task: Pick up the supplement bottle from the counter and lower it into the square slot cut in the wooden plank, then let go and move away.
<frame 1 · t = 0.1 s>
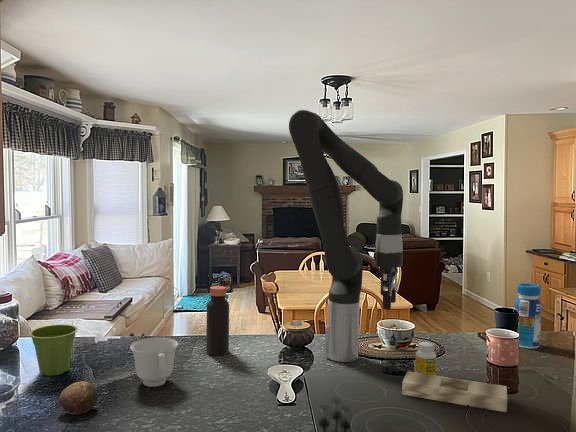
hand: (389, 305, 148), 17 cm above the kitchen counter, tool pointing down, fingers open, 8 cm apart
vinegar: (217, 353, 156), on the kitchen counter
wooden plank: (453, 396, 127), on the kitchen counter
brown potato: (78, 410, 116), on the kitchen counter
supplement bottle: (424, 379, 138), on the kitchen counter
plant pot: (54, 372, 138), on the kitchen counter
teacup: (155, 385, 131), on the kitchen counter
beverage bottle: (525, 345, 169), on the kitchen counter
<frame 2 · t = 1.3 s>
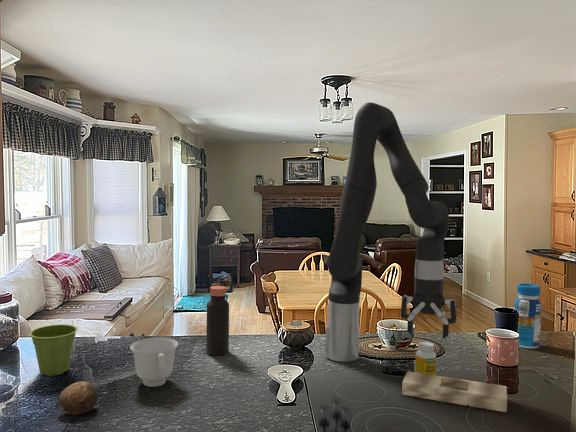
hand: (427, 335, 137), 12 cm above the kitchen counter, tool pointing down, fingers open, 8 cm apart
nothing on the kitchen counter moved.
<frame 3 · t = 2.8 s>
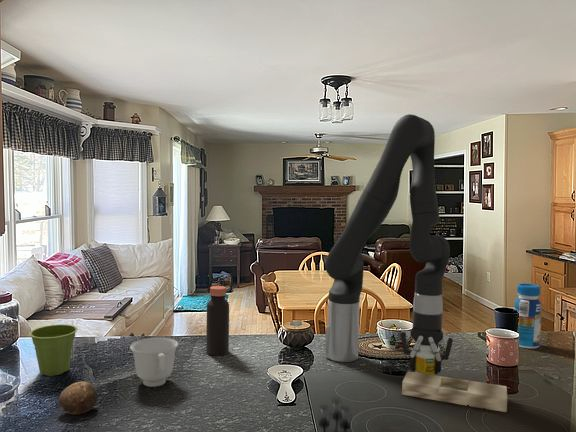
hand: (425, 371, 138), 2 cm above the kitchen counter, tool pointing down, fingers closed on supplement bottle, 5 cm apart
supplement bottle: (424, 379, 138), on the kitchen counter, touching gripper
everything else where it was.
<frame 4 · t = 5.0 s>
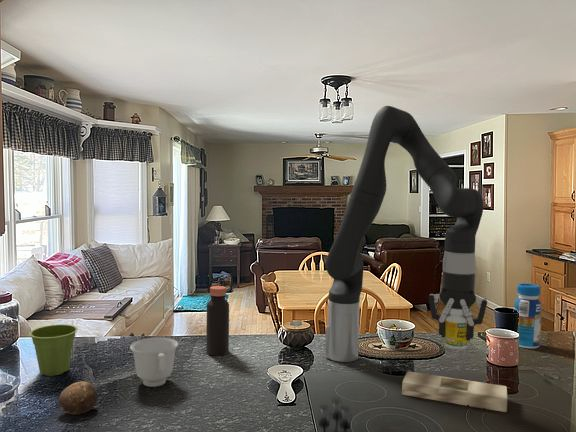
hand: (455, 337, 126), 15 cm above the kitchen counter, tool pointing down, fingers closed on supplement bottle, 5 cm apart
supplement bottle: (455, 346, 126), point 13 cm above the kitchen counter, touching gripper
everything else where it was.
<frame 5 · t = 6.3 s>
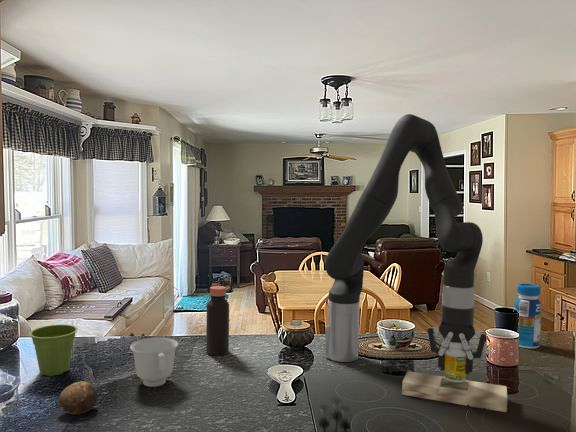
hand: (455, 370, 126), 6 cm above the kitchen counter, tool pointing down, fingers closed on supplement bottle, 5 cm apart
supplement bottle: (454, 379, 127), point 4 cm above the kitchen counter, touching gripper
everything else where it was.
when the fingers open (5 cm above the kitchen counter, at t = 7.2 s): supplement bottle drops 1 cm, resting on wooden plank.
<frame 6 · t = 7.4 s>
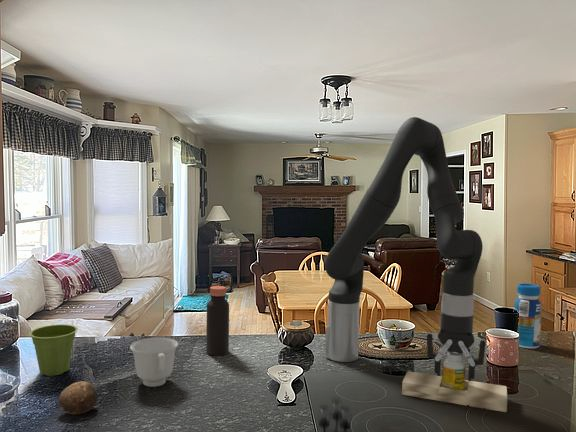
hand: (454, 377, 126), 5 cm above the kitchen counter, tool pointing down, fingers open, 6 cm apart
supplement bottle: (452, 392, 127), point 1 cm above the kitchen counter, touching wooden plank
everything else where it was.
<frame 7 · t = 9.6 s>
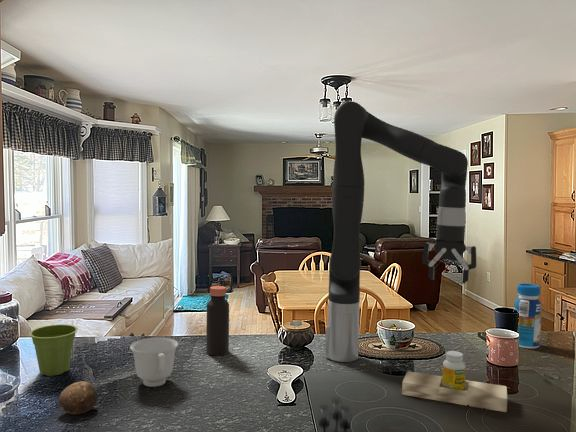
hand: (448, 281, 143), 25 cm above the kitchen counter, tool pointing down, fingers open, 8 cm apart
nothing on the kitchen counter moved.
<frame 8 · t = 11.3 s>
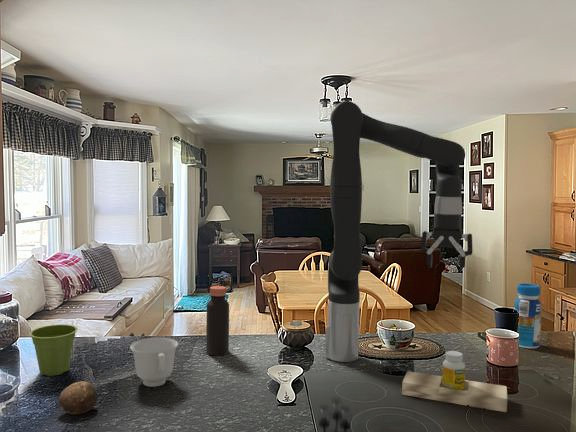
hand: (445, 268, 149), 28 cm above the kitchen counter, tool pointing down, fingers open, 8 cm apart
nothing on the kitchen counter moved.
at the end: supplement bottle 0.2 cm from the wooden plank (horizontally); supplement bottle tilted 0°; the gripper is holding nothing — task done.
